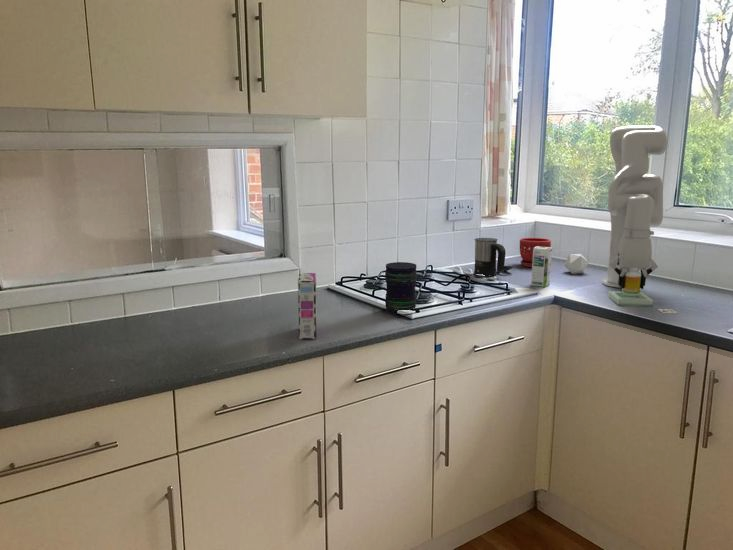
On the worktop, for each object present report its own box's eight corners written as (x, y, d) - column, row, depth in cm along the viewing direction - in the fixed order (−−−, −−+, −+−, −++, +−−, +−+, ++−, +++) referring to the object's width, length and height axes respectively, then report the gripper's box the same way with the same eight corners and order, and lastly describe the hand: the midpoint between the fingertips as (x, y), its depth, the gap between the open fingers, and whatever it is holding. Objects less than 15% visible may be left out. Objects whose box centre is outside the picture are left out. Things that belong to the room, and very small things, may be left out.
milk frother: (469, 275, 234) (470, 239, 231) (485, 268, 247) (486, 234, 243) (502, 279, 226) (504, 242, 223) (517, 272, 239) (518, 237, 235)
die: (586, 277, 232) (594, 257, 234) (568, 267, 231) (577, 246, 234) (575, 280, 240) (583, 260, 242) (558, 270, 239) (566, 250, 242)
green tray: (608, 296, 199) (608, 291, 199) (641, 297, 198) (642, 292, 197) (617, 305, 189) (618, 299, 188) (652, 306, 187) (653, 300, 187)
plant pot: (555, 266, 250) (557, 239, 247) (534, 270, 244) (535, 242, 241) (533, 261, 261) (535, 235, 258) (512, 264, 255) (513, 238, 252)
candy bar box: (317, 339, 155) (316, 281, 152) (298, 340, 155) (297, 281, 151) (317, 327, 166) (316, 272, 163) (300, 327, 166) (298, 272, 162)
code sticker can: (657, 309, 184) (657, 308, 184) (671, 309, 183) (671, 309, 183) (662, 312, 180) (662, 312, 180) (677, 313, 179) (677, 313, 179)
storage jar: (418, 315, 178) (419, 268, 175) (386, 315, 177) (387, 268, 174) (413, 306, 188) (414, 261, 185) (383, 307, 187) (383, 262, 184)
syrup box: (530, 285, 216) (532, 247, 213) (535, 282, 221) (537, 245, 218) (545, 287, 213) (548, 249, 210) (550, 284, 218) (552, 246, 215)
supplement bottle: (641, 296, 190) (644, 267, 187) (623, 295, 191) (626, 266, 188) (637, 292, 195) (640, 264, 193) (620, 291, 196) (622, 263, 194)
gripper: (659, 233, 191) (654, 285, 195) (606, 232, 193) (601, 284, 197) (668, 236, 184) (662, 291, 187) (612, 235, 186) (607, 289, 190)
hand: (631, 287), depth 192 cm, fingers closed on supplement bottle, 5 cm apart
